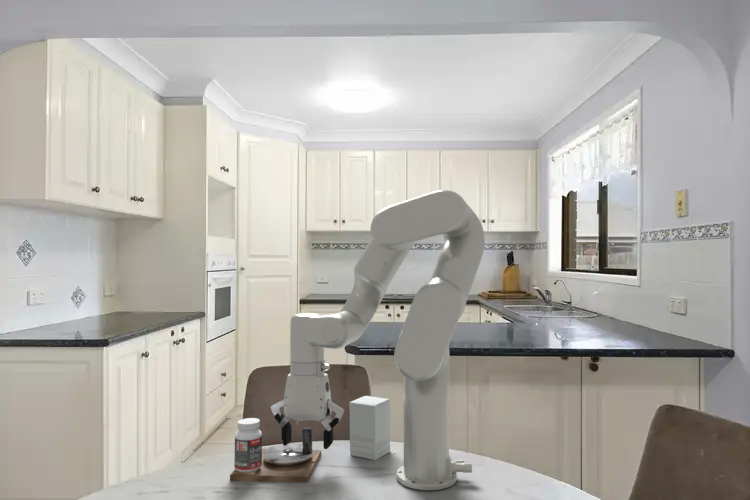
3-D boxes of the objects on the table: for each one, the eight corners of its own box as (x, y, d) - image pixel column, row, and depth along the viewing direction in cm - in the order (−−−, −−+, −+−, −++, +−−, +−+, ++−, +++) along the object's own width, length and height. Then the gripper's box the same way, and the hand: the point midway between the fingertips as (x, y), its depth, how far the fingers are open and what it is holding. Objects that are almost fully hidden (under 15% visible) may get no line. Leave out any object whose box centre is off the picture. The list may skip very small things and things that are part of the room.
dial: (303, 467, 107) (303, 437, 108) (254, 463, 110) (254, 433, 110) (319, 449, 118) (319, 421, 118) (275, 446, 121) (275, 419, 121)
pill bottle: (254, 474, 104) (254, 425, 105) (229, 472, 106) (229, 424, 106) (266, 463, 110) (266, 417, 110) (242, 461, 111) (242, 416, 112)
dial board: (321, 455, 119) (321, 448, 120) (307, 482, 104) (307, 474, 104) (253, 453, 121) (253, 446, 121) (229, 480, 105) (229, 472, 105)
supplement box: (391, 451, 122) (390, 398, 122) (374, 461, 116) (374, 405, 116) (365, 445, 126) (365, 394, 126) (348, 455, 119) (348, 401, 120)
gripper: (348, 366, 115) (348, 442, 115) (278, 363, 119) (278, 437, 119) (338, 373, 108) (338, 454, 107) (264, 369, 112) (264, 448, 111)
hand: (307, 445), depth 113 cm, fingers open, 9 cm apart
